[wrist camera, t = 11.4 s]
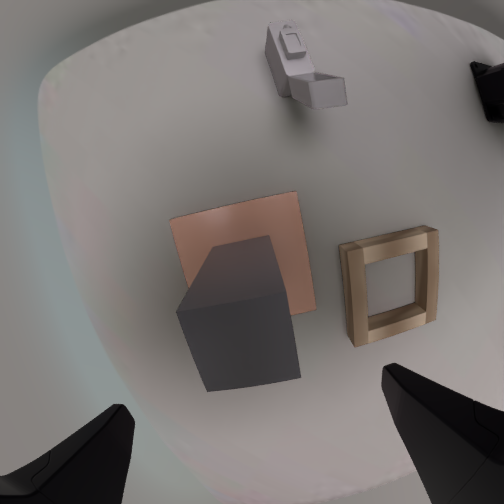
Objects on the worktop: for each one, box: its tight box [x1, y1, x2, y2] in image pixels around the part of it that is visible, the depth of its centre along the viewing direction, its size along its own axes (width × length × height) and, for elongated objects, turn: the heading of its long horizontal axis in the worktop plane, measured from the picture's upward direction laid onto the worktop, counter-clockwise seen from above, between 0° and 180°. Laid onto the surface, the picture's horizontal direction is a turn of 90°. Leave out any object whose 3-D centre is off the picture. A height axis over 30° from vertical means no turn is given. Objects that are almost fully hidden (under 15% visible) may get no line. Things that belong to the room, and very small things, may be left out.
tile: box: [169, 191, 316, 315], centre depth 20 cm, size 9×9×1 cm
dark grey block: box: [176, 235, 301, 392], centre depth 15 cm, size 4×4×10 cm
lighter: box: [265, 20, 348, 109], centre depth 13 cm, size 7×2×8 cm, turn 15°
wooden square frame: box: [339, 226, 439, 347], centre depth 20 cm, size 8×8×2 cm
